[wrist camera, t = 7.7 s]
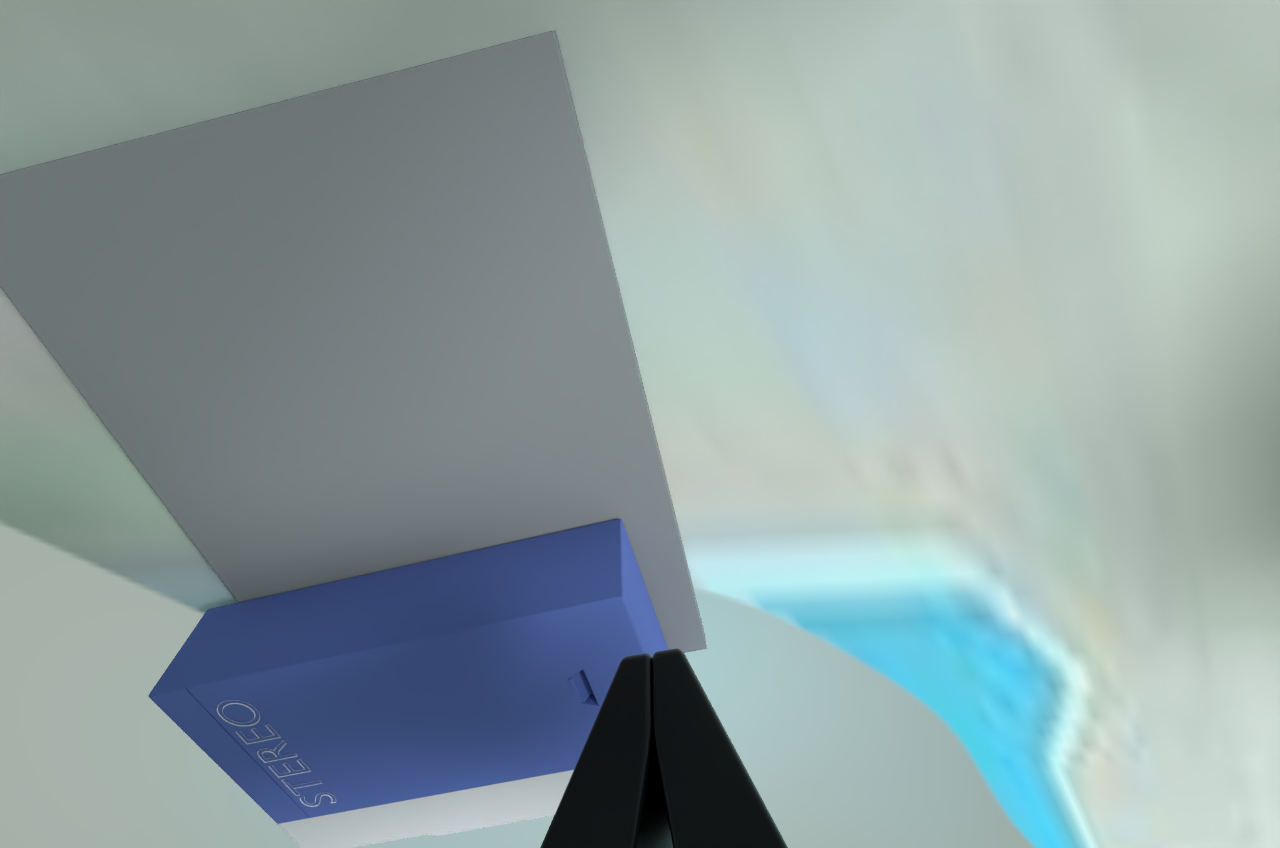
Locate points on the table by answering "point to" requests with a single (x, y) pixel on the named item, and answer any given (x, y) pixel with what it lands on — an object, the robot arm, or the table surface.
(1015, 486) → the table surface
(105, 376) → the mat
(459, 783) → the walkman
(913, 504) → the table surface
